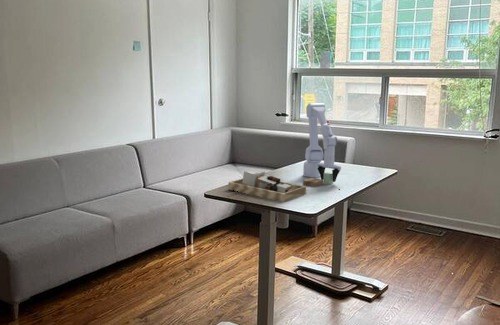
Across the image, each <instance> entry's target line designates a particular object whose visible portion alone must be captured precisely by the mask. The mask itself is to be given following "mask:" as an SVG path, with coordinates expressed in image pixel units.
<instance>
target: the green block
mask: <svg viewBox="0 0 500 325" xmlns="http://www.w3.org/2000/svg"><path fill="white" fill-rule="evenodd" d="M332 184H334V182H333V173H332V172H330V171H329V172H328V171H326V172H324V178H323V185H329V186H330V185H332Z"/></svg>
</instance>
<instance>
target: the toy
mask: <svg viewBox="0 0 500 325" xmlns="http://www.w3.org/2000/svg"><path fill="white" fill-rule="evenodd" d="M265 174H266V171H263V172H262V171H261V172H254V173H251V172H248V171H243V177H242V179H243V181H242V183H244V184H247V186H252V187H256V188H261V189H266V190H271V191H275V192H280V193H286V192H289V191H292V190H295V188H292V187H291V185H288V184H286V183H287V182H285V183H283V182H284V181H283V179H281V178H280V177H279V178H278V177H275V176H273V175H269V174H267V175H265Z"/></svg>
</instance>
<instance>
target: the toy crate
mask: <svg viewBox="0 0 500 325" xmlns="http://www.w3.org/2000/svg"><path fill="white" fill-rule="evenodd" d="M242 181H243V178H240V179H236V180H232V181H228V190H229V189H230V190H229V191H233V190H234V191H233V192H237V191H238V193H241V192H242V193H243V194H246V195H250V196H255V197H260V198H263V199H264V198H265V199H267V200H268V199H269V200H272V201H278V202H283V203H285V202H288V201H291V200H293V199H296V198H298V197H302V196H304V195H306V194H307V185H300V184H295V183H290V182H284V181H282V182H283V183H286V184H288V185H291V187H292V188H295V190H292V191H289V192H286V193H280V192H275V191H271V190H266V189H261V188H256V187H252V186H249V185H247V184H244V183H242Z"/></svg>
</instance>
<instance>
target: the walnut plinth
mask: <svg viewBox="0 0 500 325" xmlns="http://www.w3.org/2000/svg"><path fill="white" fill-rule="evenodd" d="M302 182H303V184H302V186H306V187H307V186H308V187H313V188H317V187H319V186H323V185H324V184H323V180H321V178H320V179H319V178H313V177H308V178H307V179H303V181H302Z"/></svg>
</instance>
